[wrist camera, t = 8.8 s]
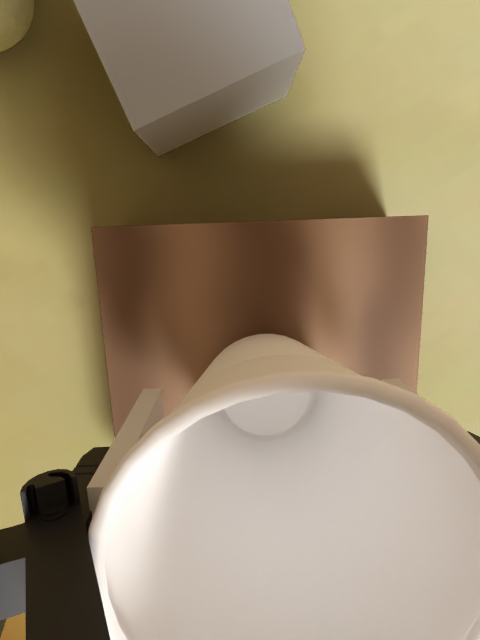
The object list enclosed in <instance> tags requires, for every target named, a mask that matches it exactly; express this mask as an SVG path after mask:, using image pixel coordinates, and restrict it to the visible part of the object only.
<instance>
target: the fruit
mask: <svg viewBox="0 0 480 640" xmlns="http://www.w3.org/2000/svg"><path fill="white" fill-rule="evenodd" d="M34 8H35V0H0V52H2V51H5V50H7V49H9V48H11V47H12V46H14V45H15V44H16V43H18V42H19V41H20V40H21V39H22V38H23V37H24V36H25V34H26V33H27V32H28V30H29V28H30V25H31V23H32V19H33V15H34Z"/></svg>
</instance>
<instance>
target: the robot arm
mask: <svg viewBox="0 0 480 640" xmlns="http://www.w3.org/2000/svg"><path fill="white" fill-rule="evenodd" d="M382 381H383V382H386V383H388V384H391V385H394V386H396V387H399V388H402V389H405V390H407V391H410V392H413V393H415V392H414V391H413V390H412V389H411V388H410V387H408V386H407V385H406V384H405V383H404V382H403V381H402V380H400V379H382ZM415 394H416V393H415ZM417 395H418V394H417ZM418 396H419V395H418ZM162 419H164V409H163V397H162V388H148V389H143V391H142V392H141V394H140V396H139V398H138V399H137V401H136V403H135V405H134V406H133V408H132V410H131V411H130V413H129V415H128V417H127V418H126V420H125V422H124V424H123V425H122V427H121V429H120V431H119V432H118V434H117V436H116V438H115V439H114V441H113V443H112V444H111V446H110V447H96V448H93V449H92V450H90V451H89V452H88V453H86V454H85V455H83V456H82V458H81V459H80V461H79V462H78V464H77V465H76V467H75V468H74V470H73V471H70V470H66V469H57V470H52V471H47V472H45V473H42V474H39V475H37V476H35V477H34V478H32V479H30V480H29V481H28V482H27V483H26V484H25V485H24V486H23V487H22V489H21V492H20V495H21V501H22V507H23V512H24V518H25V523H23V524H20V525H16V526H13V527H9V528H5V529H1V530H0V636H1V634H2V631H3V627H4V624H5V622H6V619H7V618H9V617H13V616H16V615H19V614H22V613H25V612H26V640H110V635H109V631H108V626H107V622H106V617H105V613H104V608H103V603H102V599H101V594H100V590H99V585H98V580H97V576H96V571H95V567H94V562H93V558H92V553H91V548H90V544H89V539H88V531H89V526H90V523H91V521H92V518H93V515H94V512H95V509H96V506H97V503H98V501H99V498H100V495H101V492H102V490H103V488H104V486H105V485H106V483H107V482H108V480H109V478H110V477H111V475H112V474H113V472H114V470H115V469H116V467H117V466H118V464H119V462H120V461H121V459H122V458H123V456H124V455H125V454H126V453H127V452H128V451H129V450H130V449H131V448H132V447H133V446H134V445H135V444H136V443H137V442H138V441H139V440H140V439H141V438H142V437H143V436H144V434H145V433H146V432H147V431H148V430H149V429H150V428H151V427H152V426H153V425H155V424H156V423H158V422H159V421H161V420H162ZM467 432H468V431H467ZM468 433H469V434H470V435H471V436H472V437H473V438H474V439H475V440H476V441H477V442H478V443H479V444H480V437H479V436H477V435H475V434H473V433H471V432H468Z"/></svg>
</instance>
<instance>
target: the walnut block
mask: <svg viewBox="0 0 480 640" xmlns="http://www.w3.org/2000/svg"><path fill="white" fill-rule="evenodd" d="M428 216H429V215H423V216H394V217H366V218H337V219H309V220H280V221H252V222H223V223H195V224H166V225H138V226H110V227H91V231H92V240H93V249H94V257H95V266H96V275H97V284H98V293H99V302H100V310H101V319H102V328H103V337H104V346H105V355H106V363H107V372H108V381H109V390H110V399H111V408H112V416H113V425H114V434H115V438H116V436H117V434H118V432H119V431H120V429H121V427H122V425H123V424H124V422H125V420H126V418H127V417H128V415H129V413H130V411H131V410H132V408H133V406H134V405H135V403H136V401H137V399H138V398H139V396H140V394H141V392H142V391H143V389H148V388H162V397H163V409H164V418H165V417H166V416H168V415H169V414H171V412H172V411H173V410H174V409H175V407H176V406H177V405H178V404H179V403H180V402H181V400H182V399H183V398H184V397H185V395H186V394H187V393H188V392H189V390H190V389H191V388H192V387H193V386H194V384H195V383H196V382H197V381H198V379H199V378H200V377H201V376H202V374H203V373H204V372H205V371H206V369H207V368H208V367H209V365H210V364H211V363H212V362H213V360H214V359H215V358H216V357H217V356H218V355H219V354H220V353H221V352H222V351H223V350H224V349H225V348H226V347H228V346H229V345H231V344H232V343H234V342H236V341H238V340H240V339H242V338H245V337H248V336H252V335H257V334H276V335H283V336H286V337H289V338H291V339H294V340H297V341H298V342H300V343H302V344H304V345H306V346H307V347H309V348H311V349H313V350H314V351H316V352H318V353H320V354H322V355H324V356H325V357H327V358H329V359H331V360H333V361H334V362H337V363H338V364H340V365H342V366H344V367H346V368H348V369H350V370H352V371H354V372H355V373H357V374H359V375H361V376H365V377H371V378H375V379H377V380H380V381H382V379H400V380H402V381H403V382H404V383H405V384H406V385H407V386H408V387H410V388H411V389H412V390H413V391H414V392H415V393H416V394H417V381H418V366H419V351H420V336H421V321H422V306H423V291H424V276H425V261H426V246H427V231H428Z"/></svg>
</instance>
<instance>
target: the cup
mask: <svg viewBox="0 0 480 640" xmlns="http://www.w3.org/2000/svg"><path fill="white" fill-rule="evenodd" d="M88 539H89V544H90V548H91V553H92V558H93V562H94V567H95V571H96V576H97V580H98V585H99V590H100V594H101V599H102V603H103V608H104V613H105V617H106V622H107V626H108V631H109V635H110V640H480V444H479V443H478V442H477V441H476V440H475V439H474V438H473V437H472V436H471V435H470V434H469V433H468V432H467V431H466V430H465V429H464V428H463V427H462V426H461V425H460V424H459V423H458V422H457V421H456V420H454V419H453V418H452V417H451V416H450V415H449V414H447V413H445V412H444V411H442V410H441V409H439V408H437V407H436V406H434V405H433V404H431V403H429V402H428V401H426V400H425V399H423V398H421V397H420V396H418V395H417V394H415V393H413V392H410V391H407V390H405V389H402V388H399V387H396V386H394V385H391V384H388V383H386V382H383V381H380V380H377V379H375V378H371V377H365V376H361V375H359V374H357V373H355V372H354V371H352V370H350V369H348V368H346V367H344V366H342V365H340V364H338V363H337V362H334V361H333V360H331V359H329V358H327V357H325V356H324V355H322V354H320V353H318V352H316V351H314V350H313V349H311V348H309V347H307V346H306V345H304V344H302V343H300V342H298V341H297V340H294V339H291V338H289V337H286V336H283V335H276V334H257V335H252V336H248V337H245V338H242V339H240V340H238V341H236V342H234V343H232V344H231V345H229V346H228V347H226V348H225V349H224V350H223V351H222V352H221V353H220V354H219V355H218V356H217V357H216V358H215V359H214V360H213V362H212V363H211V364H210V365H209V367H208V368H207V369H206V371H205V372H204V373H203V374H202V376H201V377H200V378H199V379H198V381H197V382H196V383H195V384H194V386H193V387H192V388H191V389H190V390H189V392H188V393H187V394H186V395H185V397H184V398H183V399H182V400H181V402H180V403H179V404H178V405H177V406H176V407H175V409H174V410H173V411H172V412H171V414H169V415H168V416H166V417H165V418H164V419H162V420H161V421H159V422H158V423H156V424H155V425H153V426H152V427H151V428H150V429H149V430H148V431H147V432H146V433H145V434H144V436H143V437H142V438H141V439H140V440H139V441H138V442H137V443H136V444H135V445H134V446H133V447H132V448H131V449H130V450H129V451H128V452H127V453H126V454H125V455H124V456H123V458H122V459H121V461H120V462H119V464H118V466H117V467H116V469H115V470H114V472H113V474H112V475H111V477H110V478H109V480H108V482H107V483H106V485H105V486H104V488H103V490H102V492H101V495H100V498H99V501H98V503H97V506H96V509H95V512H94V515H93V518H92V521H91V523H90V526H89V531H88Z"/></svg>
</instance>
